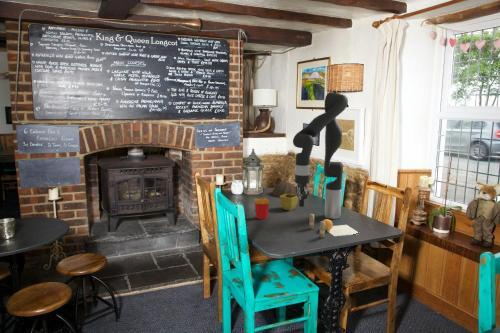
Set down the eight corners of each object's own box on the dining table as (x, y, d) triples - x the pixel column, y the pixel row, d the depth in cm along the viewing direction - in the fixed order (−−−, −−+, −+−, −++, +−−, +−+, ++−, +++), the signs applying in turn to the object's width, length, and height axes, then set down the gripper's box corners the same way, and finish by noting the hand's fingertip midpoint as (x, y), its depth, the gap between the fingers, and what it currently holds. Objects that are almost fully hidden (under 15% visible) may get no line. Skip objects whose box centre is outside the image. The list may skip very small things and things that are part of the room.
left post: (308, 228, 215) (308, 214, 214) (312, 227, 216) (313, 213, 214) (310, 229, 213) (310, 215, 211) (314, 229, 213) (315, 215, 212)
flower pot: (291, 212, 245) (291, 198, 243) (279, 209, 250) (279, 196, 249) (298, 209, 252) (298, 195, 250) (286, 206, 257) (286, 193, 255)
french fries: (268, 216, 235) (268, 197, 233) (268, 218, 231) (269, 199, 229) (254, 217, 235) (254, 197, 233) (254, 219, 231) (254, 199, 229)
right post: (318, 236, 202) (319, 221, 201) (323, 236, 203) (323, 221, 202) (320, 238, 200) (321, 223, 198) (325, 237, 200) (326, 222, 199)
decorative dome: (285, 199, 276) (285, 185, 274) (266, 194, 291) (266, 181, 289) (304, 195, 288) (304, 182, 286) (285, 190, 303) (285, 177, 301)
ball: (317, 227, 213) (320, 217, 211) (325, 227, 216) (328, 217, 215) (325, 232, 208) (328, 221, 207) (333, 232, 211) (336, 222, 210)
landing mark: (321, 227, 217) (321, 226, 217) (346, 225, 220) (346, 224, 220) (334, 236, 202) (334, 236, 202) (360, 234, 206) (360, 233, 206)
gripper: (314, 175, 195) (313, 209, 198) (304, 170, 207) (303, 202, 210) (300, 176, 193) (299, 210, 196) (290, 171, 205) (290, 203, 208)
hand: (301, 206), depth 203 cm, fingers closed
